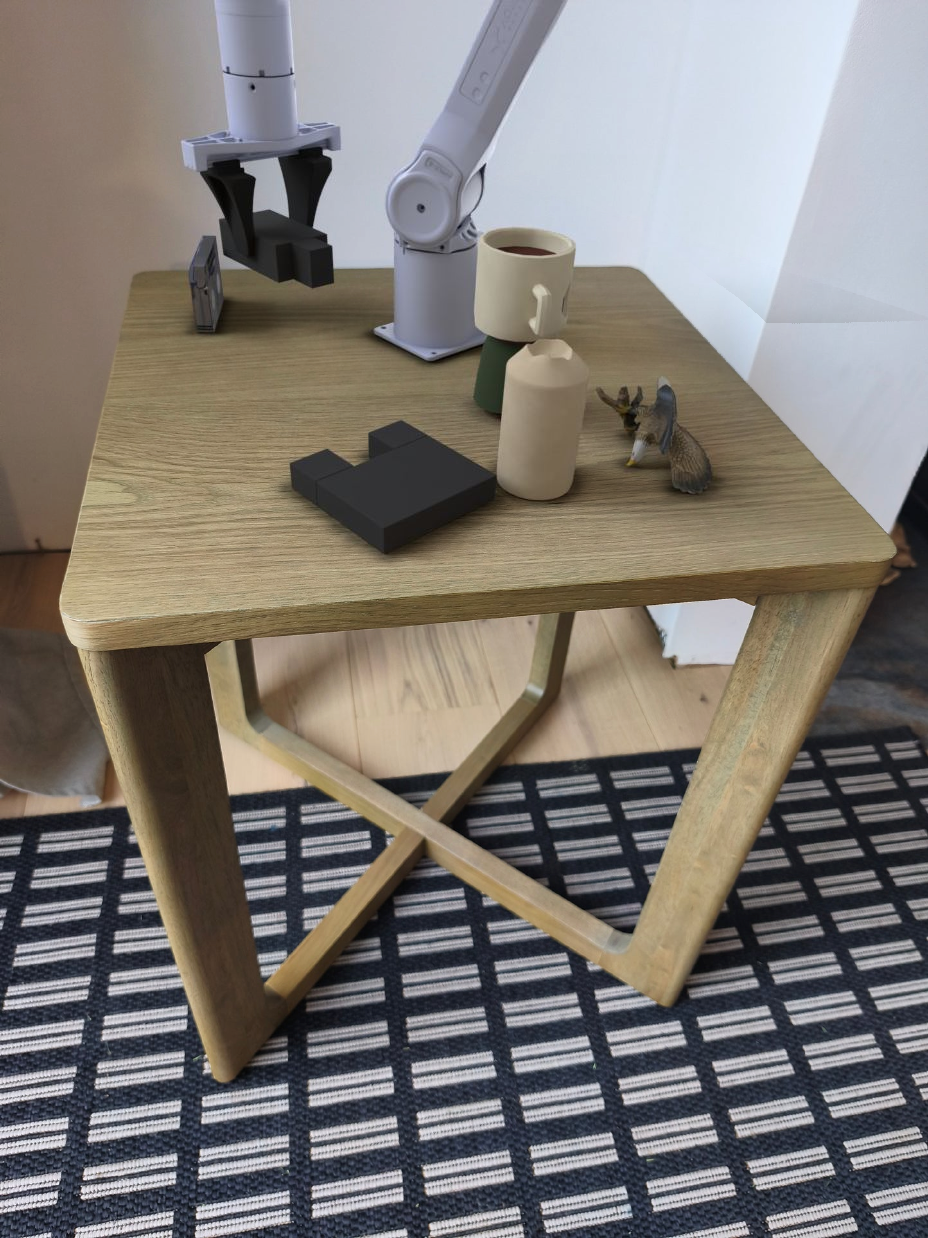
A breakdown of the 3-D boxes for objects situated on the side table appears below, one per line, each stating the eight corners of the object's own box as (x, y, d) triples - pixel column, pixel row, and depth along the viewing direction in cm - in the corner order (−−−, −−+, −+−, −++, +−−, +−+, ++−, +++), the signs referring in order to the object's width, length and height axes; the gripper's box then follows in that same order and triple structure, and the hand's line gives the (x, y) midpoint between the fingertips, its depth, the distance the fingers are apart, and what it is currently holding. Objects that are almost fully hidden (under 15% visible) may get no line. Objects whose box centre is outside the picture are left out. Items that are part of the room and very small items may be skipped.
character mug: (574, 435, 67) (600, 265, 59) (486, 442, 65) (501, 268, 57) (532, 374, 75) (550, 217, 66) (453, 379, 73) (461, 218, 65)
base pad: (384, 554, 54) (384, 528, 53) (291, 488, 59) (289, 462, 58) (495, 499, 59) (497, 474, 58) (401, 443, 65) (401, 419, 63)
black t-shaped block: (297, 292, 73) (294, 254, 71) (223, 255, 80) (218, 218, 78) (348, 279, 76) (347, 242, 74) (272, 244, 83) (269, 208, 81)
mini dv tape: (208, 298, 84) (199, 234, 80) (223, 299, 84) (215, 235, 80) (197, 332, 78) (186, 265, 74) (214, 332, 78) (204, 265, 74)
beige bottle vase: (567, 506, 59) (589, 370, 53) (489, 494, 60) (501, 358, 53) (575, 467, 63) (597, 335, 57) (502, 455, 64) (515, 325, 58)
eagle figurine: (569, 436, 64) (649, 473, 58) (614, 347, 63) (701, 374, 56) (632, 470, 69) (712, 507, 63) (675, 388, 68) (762, 417, 61)
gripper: (303, 57, 75) (313, 221, 84) (151, 69, 67) (180, 249, 76) (353, 70, 71) (358, 240, 80) (198, 85, 63) (223, 272, 72)
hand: (274, 246), depth 78 cm, fingers closed on black t-shaped block, 5 cm apart
